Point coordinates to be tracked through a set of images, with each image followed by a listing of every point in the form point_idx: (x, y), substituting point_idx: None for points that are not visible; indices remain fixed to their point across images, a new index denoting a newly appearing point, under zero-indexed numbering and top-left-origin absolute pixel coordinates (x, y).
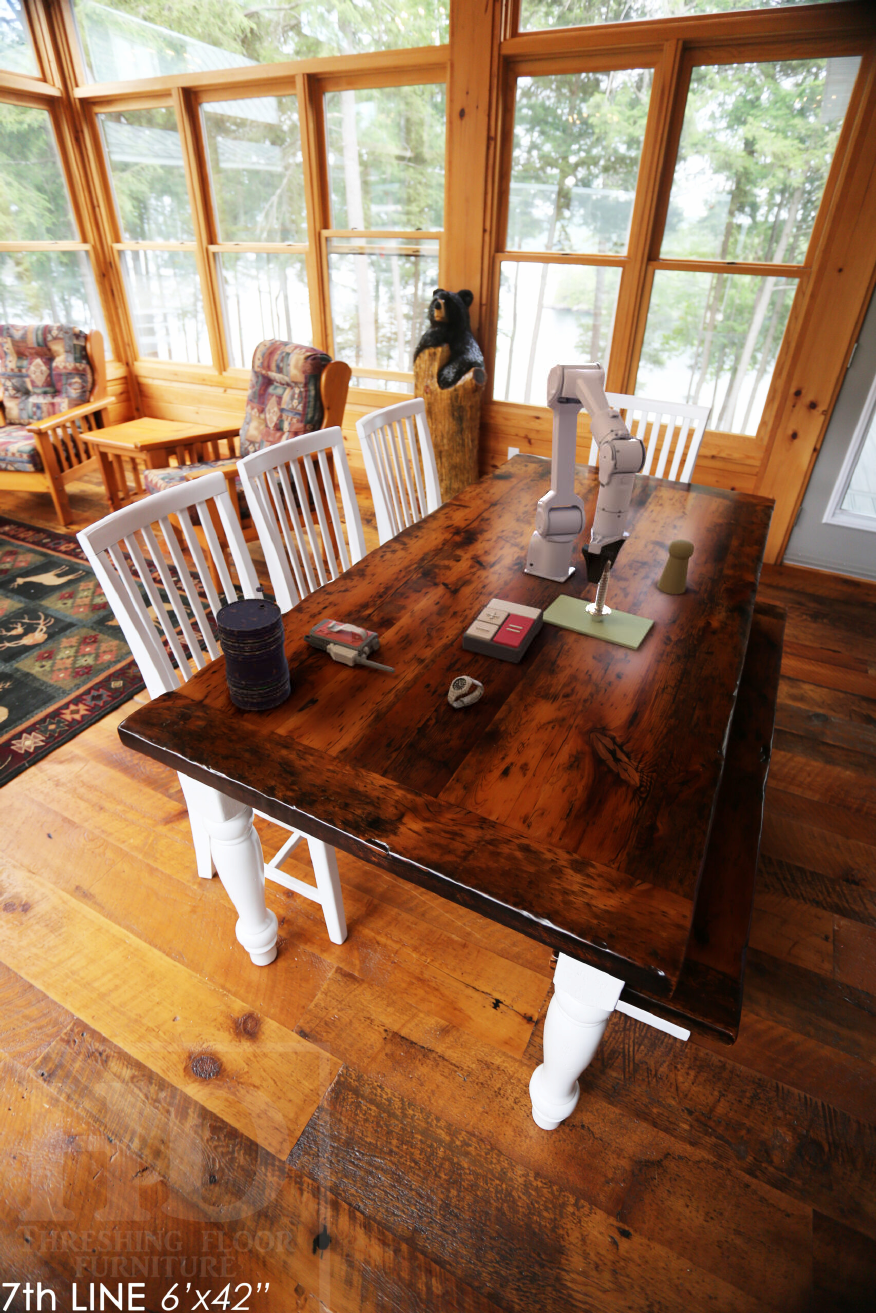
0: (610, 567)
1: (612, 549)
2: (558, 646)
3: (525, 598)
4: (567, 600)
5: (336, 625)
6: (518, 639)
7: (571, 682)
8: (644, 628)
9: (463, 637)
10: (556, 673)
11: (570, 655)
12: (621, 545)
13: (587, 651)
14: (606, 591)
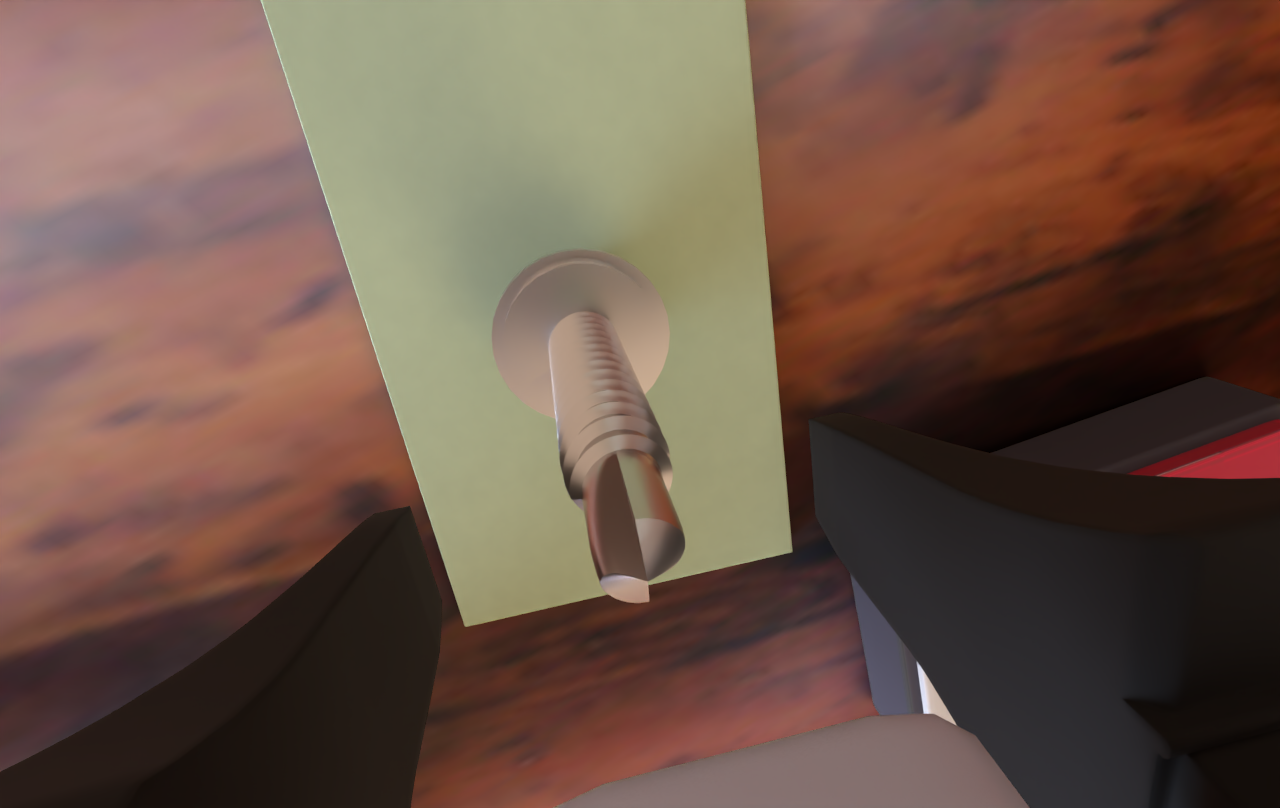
0: (407, 523)
1: (344, 720)
2: (966, 323)
3: (628, 707)
4: (503, 564)
5: None
6: (1243, 457)
7: (1259, 72)
8: None
9: None
10: (1210, 184)
11: (1017, 223)
12: (252, 701)
13: (928, 170)
14: (580, 361)
